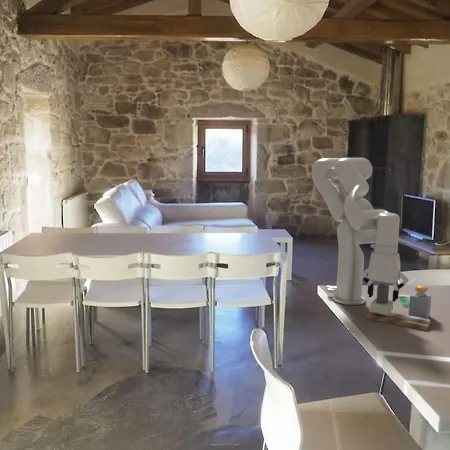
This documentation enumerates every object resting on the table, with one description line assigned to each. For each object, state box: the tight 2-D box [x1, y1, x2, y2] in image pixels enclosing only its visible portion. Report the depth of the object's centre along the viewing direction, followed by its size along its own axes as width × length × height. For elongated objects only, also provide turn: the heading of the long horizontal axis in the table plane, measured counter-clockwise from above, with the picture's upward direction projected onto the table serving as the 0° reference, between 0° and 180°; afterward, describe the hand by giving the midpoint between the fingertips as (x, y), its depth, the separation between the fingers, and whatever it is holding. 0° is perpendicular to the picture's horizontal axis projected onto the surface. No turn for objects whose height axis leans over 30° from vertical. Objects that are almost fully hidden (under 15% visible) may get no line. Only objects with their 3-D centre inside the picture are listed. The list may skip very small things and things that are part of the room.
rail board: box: [366, 309, 432, 332], centre depth 183 cm, size 20×7×2 cm, turn 59°
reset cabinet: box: [408, 291, 432, 319], centre depth 187 cm, size 6×6×8 cm
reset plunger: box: [414, 284, 429, 297], centre depth 186 cm, size 4×4×5 cm
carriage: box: [369, 283, 394, 315], centre depth 185 cm, size 6×7×9 cm
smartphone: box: [397, 293, 411, 308], centre depth 205 cm, size 7×1×15 cm
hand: (382, 298), depth 184 cm, fingers open, 7 cm apart
